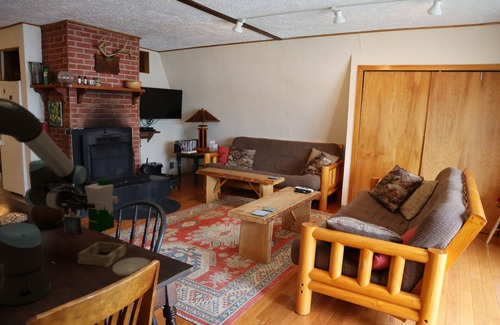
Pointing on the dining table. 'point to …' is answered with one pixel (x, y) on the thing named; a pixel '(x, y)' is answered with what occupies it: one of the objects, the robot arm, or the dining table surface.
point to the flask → (72, 224)
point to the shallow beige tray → (101, 260)
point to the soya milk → (103, 193)
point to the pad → (129, 266)
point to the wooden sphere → (46, 216)
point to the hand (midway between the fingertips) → (110, 203)
